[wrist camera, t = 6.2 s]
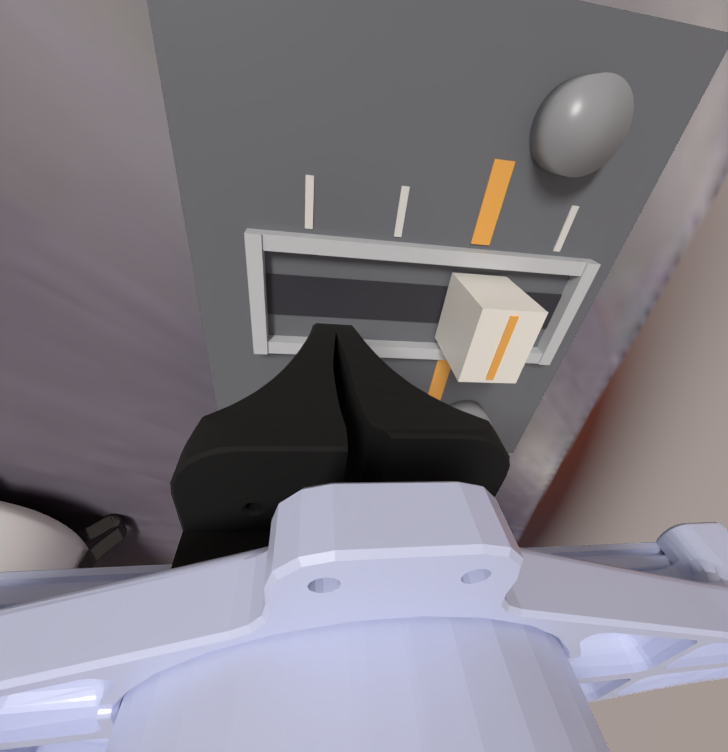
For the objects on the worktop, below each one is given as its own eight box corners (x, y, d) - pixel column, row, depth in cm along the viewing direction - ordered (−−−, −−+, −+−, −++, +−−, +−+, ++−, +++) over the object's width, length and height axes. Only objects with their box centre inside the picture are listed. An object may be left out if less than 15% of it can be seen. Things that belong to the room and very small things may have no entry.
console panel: (503, 435, 24) (521, 467, 22) (229, 434, 22) (220, 470, 19) (696, 41, 13) (773, 26, 10) (153, -71, 10) (107, -122, 8)
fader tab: (483, 339, 17) (516, 384, 14) (434, 337, 17) (458, 383, 14) (506, 276, 15) (549, 313, 13) (452, 272, 15) (483, 309, 12)
